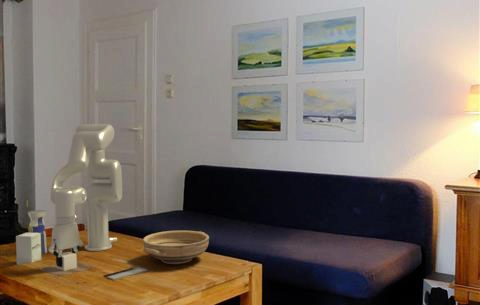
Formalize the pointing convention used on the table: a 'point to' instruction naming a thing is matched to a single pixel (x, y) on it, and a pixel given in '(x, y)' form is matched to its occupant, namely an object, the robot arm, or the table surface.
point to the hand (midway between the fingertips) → (66, 264)
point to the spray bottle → (38, 226)
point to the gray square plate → (125, 273)
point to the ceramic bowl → (176, 245)
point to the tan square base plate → (59, 272)
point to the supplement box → (28, 247)
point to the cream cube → (68, 261)
